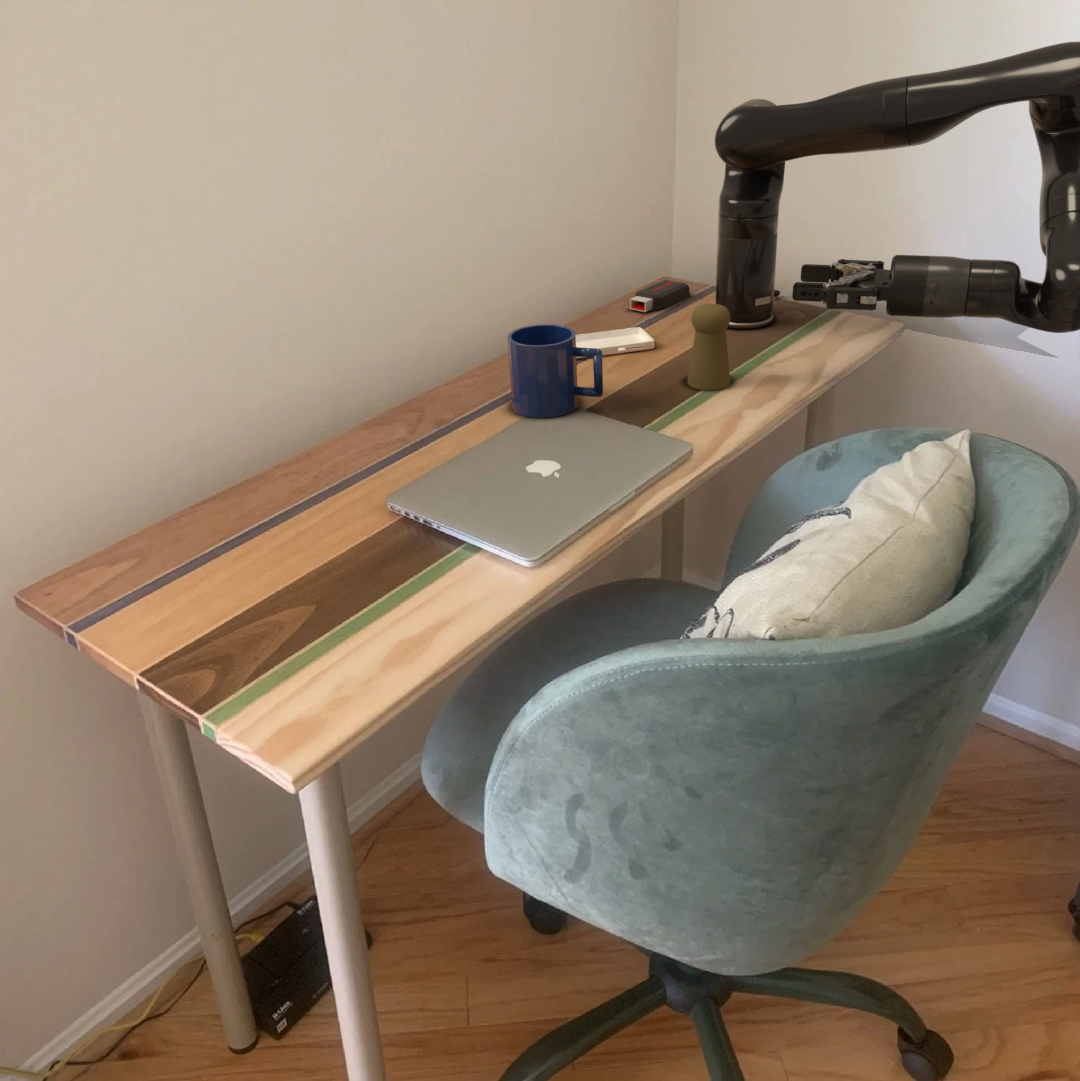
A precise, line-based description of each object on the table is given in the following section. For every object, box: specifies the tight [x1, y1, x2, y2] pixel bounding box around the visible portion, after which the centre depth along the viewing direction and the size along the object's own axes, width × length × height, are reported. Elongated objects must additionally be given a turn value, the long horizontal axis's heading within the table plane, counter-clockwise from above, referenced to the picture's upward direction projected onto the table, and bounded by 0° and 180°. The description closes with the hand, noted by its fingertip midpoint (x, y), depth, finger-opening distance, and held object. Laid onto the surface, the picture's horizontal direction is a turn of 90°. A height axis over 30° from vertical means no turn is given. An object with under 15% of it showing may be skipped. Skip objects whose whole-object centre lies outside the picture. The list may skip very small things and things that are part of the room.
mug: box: [507, 323, 604, 419], centre depth 139 cm, size 13×9×10 cm
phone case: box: [576, 326, 656, 360], centre depth 161 cm, size 7×1×15 cm
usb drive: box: [629, 279, 691, 313], centre depth 179 cm, size 5×12×3 cm, turn 140°
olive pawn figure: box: [686, 303, 731, 391], centre depth 144 cm, size 6×6×11 cm
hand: (797, 281), depth 136 cm, fingers open, 8 cm apart
